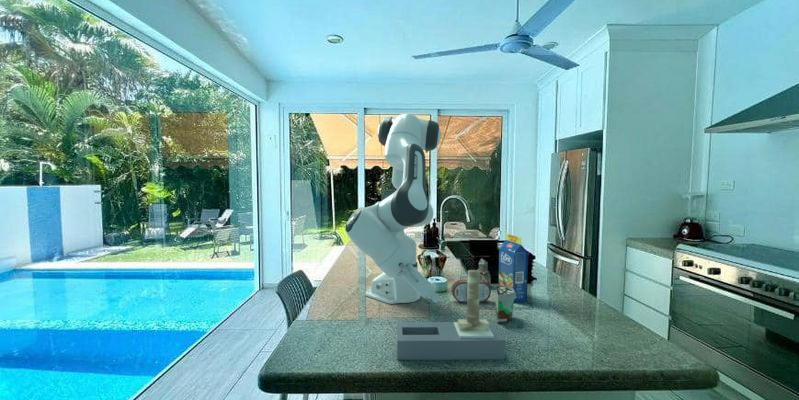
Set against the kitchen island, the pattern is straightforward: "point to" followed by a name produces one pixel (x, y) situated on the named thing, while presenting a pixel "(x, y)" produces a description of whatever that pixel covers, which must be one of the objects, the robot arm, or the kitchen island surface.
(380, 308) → the kitchen island surface
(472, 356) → the housing
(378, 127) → the robot arm
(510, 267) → the blue food package
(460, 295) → the tin
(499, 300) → the food container
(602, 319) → the kitchen island surface
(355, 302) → the kitchen island surface
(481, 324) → the T-key
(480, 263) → the figurine
